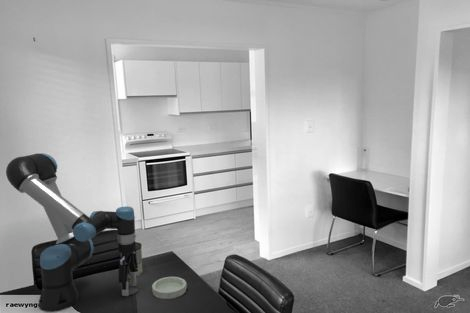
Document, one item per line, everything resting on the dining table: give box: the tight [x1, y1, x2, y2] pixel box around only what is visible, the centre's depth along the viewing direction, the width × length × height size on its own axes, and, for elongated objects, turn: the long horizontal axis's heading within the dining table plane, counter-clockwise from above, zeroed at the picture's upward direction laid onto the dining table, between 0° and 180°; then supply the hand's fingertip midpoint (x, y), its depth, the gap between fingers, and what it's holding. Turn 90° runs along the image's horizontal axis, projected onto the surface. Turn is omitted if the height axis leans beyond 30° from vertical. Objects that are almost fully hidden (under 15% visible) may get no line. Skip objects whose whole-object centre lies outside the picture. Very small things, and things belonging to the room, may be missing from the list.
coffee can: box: [120, 241, 144, 277], centre depth 183 cm, size 10×10×14 cm
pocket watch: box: [118, 273, 139, 296], centre depth 164 cm, size 8×8×10 cm
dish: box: [151, 276, 188, 300], centre depth 165 cm, size 15×15×3 cm
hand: (129, 290), depth 165 cm, fingers open, 8 cm apart
